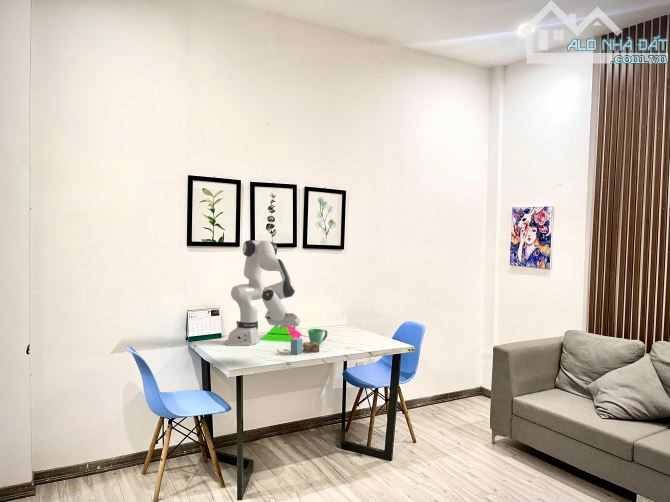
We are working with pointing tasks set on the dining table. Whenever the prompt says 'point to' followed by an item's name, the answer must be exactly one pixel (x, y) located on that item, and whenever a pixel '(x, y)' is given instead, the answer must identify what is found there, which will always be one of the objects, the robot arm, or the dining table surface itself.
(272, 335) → the pyramid toy
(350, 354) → the dining table surface
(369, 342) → the dining table surface
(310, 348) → the base block
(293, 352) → the teal brick
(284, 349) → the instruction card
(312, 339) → the mug
